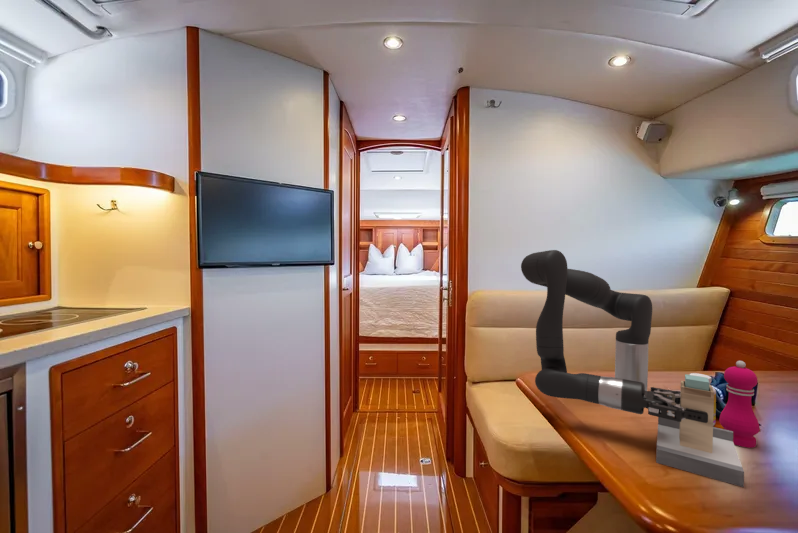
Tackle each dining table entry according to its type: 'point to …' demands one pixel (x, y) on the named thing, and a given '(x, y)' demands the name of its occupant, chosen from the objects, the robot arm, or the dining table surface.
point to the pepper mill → (740, 405)
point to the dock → (700, 454)
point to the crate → (694, 431)
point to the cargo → (696, 382)
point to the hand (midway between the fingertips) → (706, 411)
